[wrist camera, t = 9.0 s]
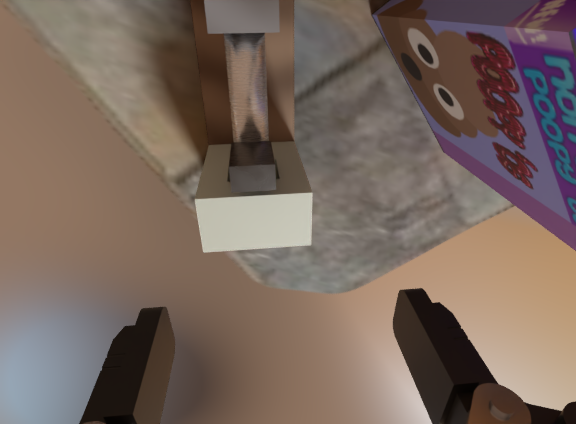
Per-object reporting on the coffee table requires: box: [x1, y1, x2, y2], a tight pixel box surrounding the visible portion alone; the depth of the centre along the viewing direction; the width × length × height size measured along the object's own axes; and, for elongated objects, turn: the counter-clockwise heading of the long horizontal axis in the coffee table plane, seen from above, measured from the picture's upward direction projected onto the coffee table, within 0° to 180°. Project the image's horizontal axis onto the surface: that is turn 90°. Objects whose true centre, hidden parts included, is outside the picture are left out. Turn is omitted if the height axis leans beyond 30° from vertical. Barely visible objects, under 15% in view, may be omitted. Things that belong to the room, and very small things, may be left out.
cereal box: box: [372, 0, 576, 251], centre depth 27 cm, size 17×5×24 cm, turn 36°
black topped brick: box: [224, 33, 276, 193], centre depth 27 cm, size 16×3×8 cm, turn 1°
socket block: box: [195, 141, 312, 252], centre depth 34 cm, size 5×9×12 cm, turn 91°
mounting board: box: [190, 0, 294, 145], centre depth 30 cm, size 27×9×10 cm, turn 1°
